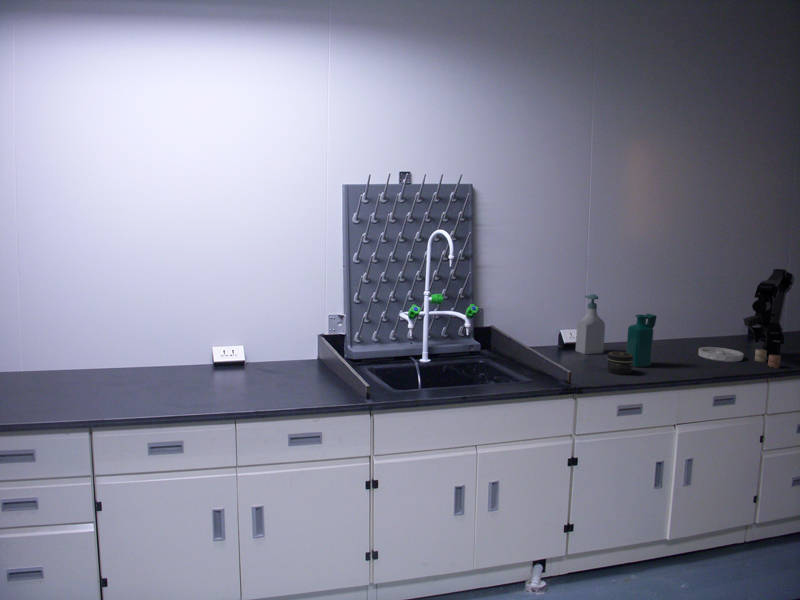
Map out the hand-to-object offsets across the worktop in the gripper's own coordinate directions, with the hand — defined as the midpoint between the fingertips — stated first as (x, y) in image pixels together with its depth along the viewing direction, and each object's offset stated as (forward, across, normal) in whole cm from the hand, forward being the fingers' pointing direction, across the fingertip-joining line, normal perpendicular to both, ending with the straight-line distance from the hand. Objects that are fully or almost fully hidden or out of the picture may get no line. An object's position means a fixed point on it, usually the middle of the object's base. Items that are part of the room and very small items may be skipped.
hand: (761, 344), depth 283 cm
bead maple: (+8, 0, 0) cm, 8 cm away
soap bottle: (+8, -9, -75) cm, 76 cm away
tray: (+8, -6, -15) cm, 18 cm away
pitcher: (+8, +14, -59) cm, 61 cm away
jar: (+7, +28, -72) cm, 78 cm away
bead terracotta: (+8, +11, 0) cm, 13 cm away
